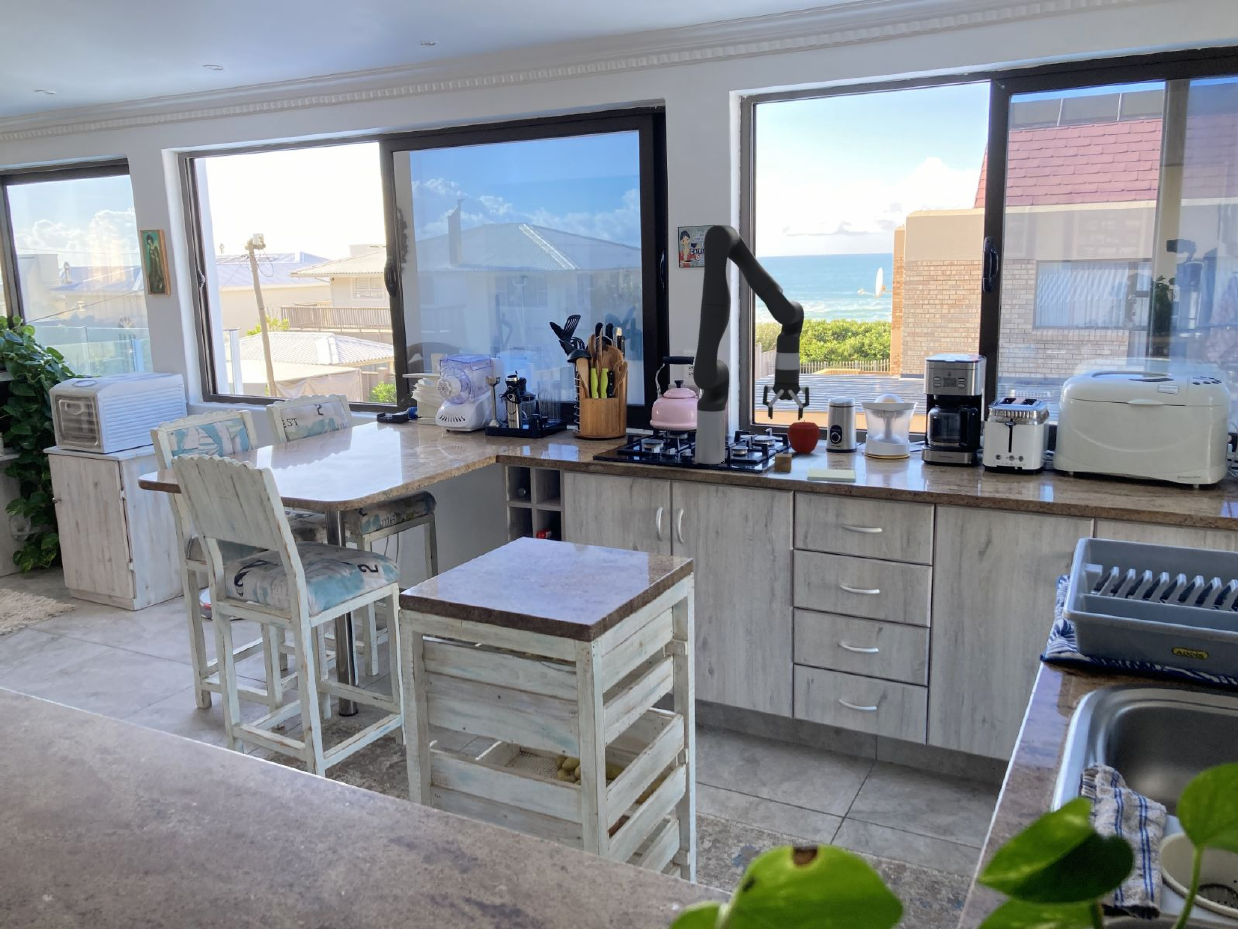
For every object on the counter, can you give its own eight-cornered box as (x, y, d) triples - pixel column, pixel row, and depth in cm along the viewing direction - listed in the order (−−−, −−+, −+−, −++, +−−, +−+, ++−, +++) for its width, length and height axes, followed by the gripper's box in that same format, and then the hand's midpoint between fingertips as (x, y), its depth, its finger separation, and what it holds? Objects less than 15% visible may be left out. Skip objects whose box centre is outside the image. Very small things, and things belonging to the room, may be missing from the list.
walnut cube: (774, 472, 304) (774, 456, 303) (775, 468, 308) (775, 453, 307) (790, 472, 302) (791, 457, 301) (791, 469, 307) (791, 454, 306)
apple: (817, 450, 338) (818, 417, 335) (820, 456, 327) (822, 422, 325) (785, 450, 339) (786, 416, 336) (787, 456, 328) (788, 421, 326)
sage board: (807, 479, 292) (807, 476, 292) (808, 471, 304) (808, 468, 303) (855, 481, 289) (855, 478, 289) (854, 473, 301) (855, 470, 300)
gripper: (762, 367, 297) (761, 420, 300) (810, 369, 294) (808, 422, 297) (764, 365, 304) (763, 416, 308) (811, 366, 301) (808, 418, 305)
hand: (785, 419), depth 303 cm, fingers open, 8 cm apart
